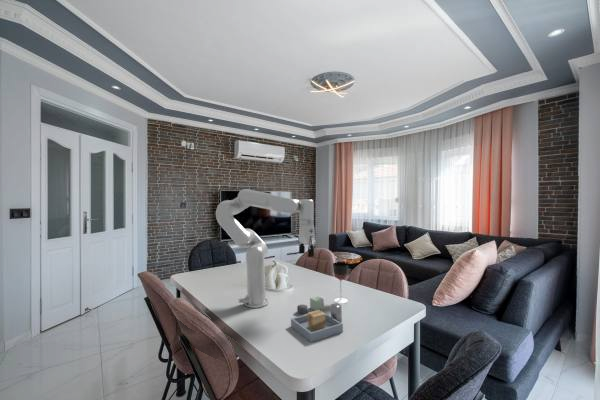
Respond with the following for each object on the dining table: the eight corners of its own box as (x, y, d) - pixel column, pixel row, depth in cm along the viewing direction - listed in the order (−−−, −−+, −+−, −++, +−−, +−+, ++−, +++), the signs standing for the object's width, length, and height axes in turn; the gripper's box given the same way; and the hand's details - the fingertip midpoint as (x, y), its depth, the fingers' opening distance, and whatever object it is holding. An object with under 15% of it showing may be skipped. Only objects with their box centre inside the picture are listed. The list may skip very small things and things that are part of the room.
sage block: (315, 311, 136) (315, 301, 136) (310, 307, 140) (310, 298, 140) (323, 308, 138) (323, 299, 138) (318, 305, 143) (318, 296, 143)
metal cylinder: (335, 324, 121) (335, 308, 121) (328, 320, 125) (328, 305, 125) (343, 321, 123) (343, 306, 123) (337, 317, 127) (336, 302, 128)
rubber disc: (300, 315, 131) (300, 309, 131) (295, 311, 135) (295, 305, 135) (309, 313, 133) (309, 307, 133) (304, 309, 138) (304, 303, 138)
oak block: (325, 327, 116) (325, 313, 116) (313, 331, 113) (313, 316, 113) (319, 323, 120) (319, 309, 120) (307, 326, 117) (307, 312, 117)
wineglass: (339, 304, 143) (339, 266, 144) (330, 299, 151) (329, 263, 151) (351, 301, 147) (351, 264, 147) (342, 296, 155) (341, 261, 155)
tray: (310, 342, 106) (310, 333, 106) (291, 326, 119) (290, 318, 119) (342, 331, 114) (342, 323, 114) (320, 317, 128) (320, 310, 128)
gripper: (321, 223, 138) (321, 257, 138) (304, 221, 153) (304, 251, 153) (308, 224, 134) (308, 258, 134) (292, 221, 149) (292, 252, 149)
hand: (306, 254), depth 144 cm, fingers open, 9 cm apart
